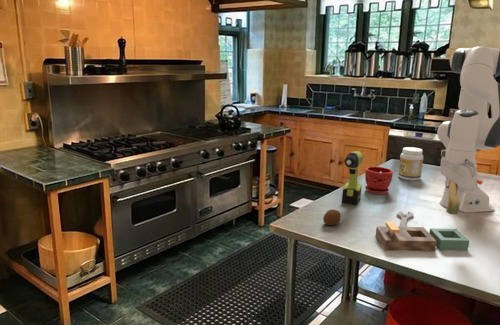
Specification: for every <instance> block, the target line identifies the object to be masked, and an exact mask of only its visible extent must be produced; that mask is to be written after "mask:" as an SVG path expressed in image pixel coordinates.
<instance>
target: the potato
mask: <svg viewBox="0 0 500 325" xmlns="http://www.w3.org/2000/svg"><path fill="white" fill-rule="evenodd" d="M341 216H342V214H341V212H340V210H337V209H332V208H331V209H329V210H327V211H326V212H325V213H324V215H323V218H322V219H323V223H324V224H325V225H327V226H333V225H334V226H335V225H337V224H338V223H340V221H341V219H342V217H341Z"/></svg>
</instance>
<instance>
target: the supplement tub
mask: <svg viewBox="0 0 500 325" xmlns="http://www.w3.org/2000/svg"><path fill="white" fill-rule="evenodd" d="M423 161H424V155H423V148H419V147H413V146H412V147H411V146H410V147H409V146H408V147H407V146H406V147H403V148H402V152H401V153H400V157H399V166H398V174H397V175H398V177H399V178H400V179H402V180H406V181H413V182H414V181H419V180H421V177H422V172H423Z"/></svg>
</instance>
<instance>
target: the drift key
mask: <svg viewBox="0 0 500 325" xmlns="http://www.w3.org/2000/svg"><path fill="white" fill-rule="evenodd" d="M385 227H387V228H388V229H389V234H390V235H391V236H395V233H400V229H399V228H398V227H399V226H398V225H397V224H396V223H395V222H394V221H385Z"/></svg>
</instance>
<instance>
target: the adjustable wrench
mask: <svg viewBox="0 0 500 325" xmlns="http://www.w3.org/2000/svg"><path fill="white" fill-rule="evenodd" d="M414 215H415V214H414V213H413V212H412V211H407V213H404V212H403V211H398V213H396V217H397V218H398V219H400V221H399V222H400V223H399V225H398V227H407V222H408V221H409V220H411V219H413V218H414Z"/></svg>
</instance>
